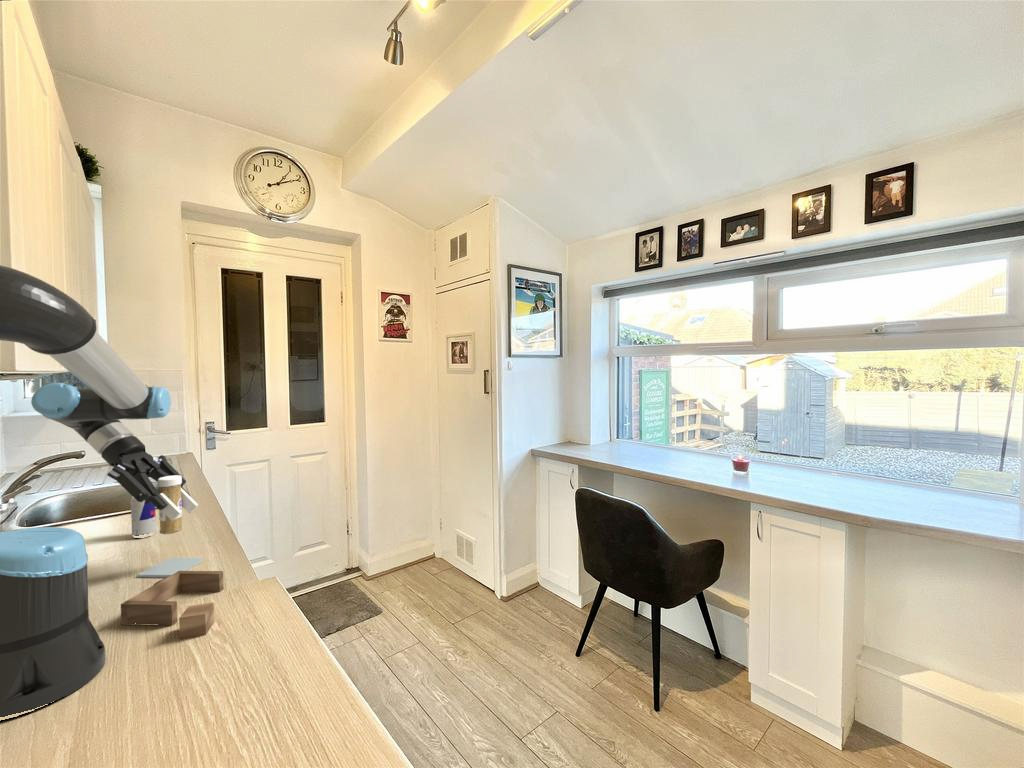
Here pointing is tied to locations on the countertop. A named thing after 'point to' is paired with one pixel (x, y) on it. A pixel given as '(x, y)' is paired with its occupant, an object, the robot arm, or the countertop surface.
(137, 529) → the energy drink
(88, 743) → the countertop surface
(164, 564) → the coaster
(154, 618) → the cubby
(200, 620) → the walnut cube
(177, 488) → the spice jar
